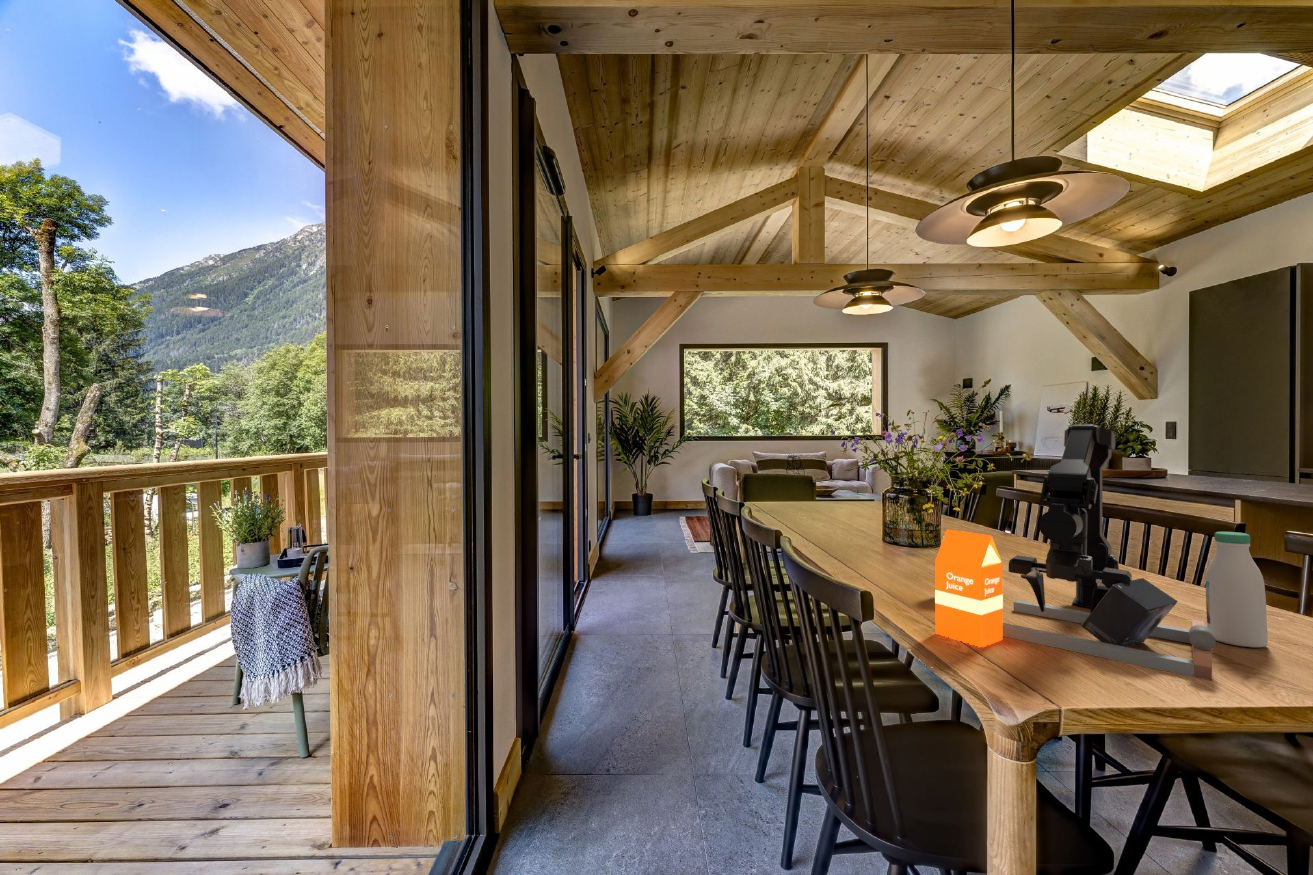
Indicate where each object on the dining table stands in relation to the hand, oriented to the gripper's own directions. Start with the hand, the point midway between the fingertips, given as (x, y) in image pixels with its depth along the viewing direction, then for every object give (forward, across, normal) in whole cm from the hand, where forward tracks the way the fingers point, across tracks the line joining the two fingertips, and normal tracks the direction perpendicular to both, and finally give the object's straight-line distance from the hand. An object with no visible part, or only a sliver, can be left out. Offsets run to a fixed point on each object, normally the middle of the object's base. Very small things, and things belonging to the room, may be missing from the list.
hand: (1066, 616), depth 107 cm
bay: (+3, +5, 0) cm, 6 cm away
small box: (+2, +7, 0) cm, 7 cm away
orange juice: (+4, -13, -15) cm, 20 cm away
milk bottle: (+3, +24, +16) cm, 29 cm away
